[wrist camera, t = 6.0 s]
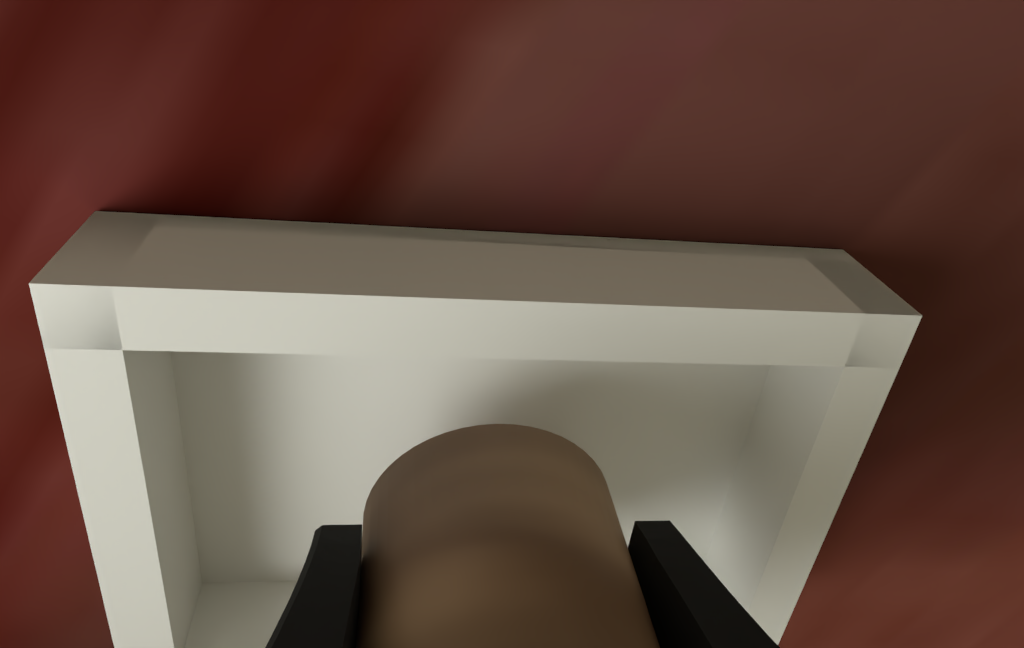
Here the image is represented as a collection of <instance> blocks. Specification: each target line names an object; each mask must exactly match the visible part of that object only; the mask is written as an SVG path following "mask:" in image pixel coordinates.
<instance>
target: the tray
mask: <svg viewBox="0 0 1024 648" xmlns="http://www.w3.org/2000/svg"><path fill="white" fill-rule="evenodd" d="M29 286H30V291H31V295H32V299H33V303H34V308H35V312H36V316H37V320H38V325H39V329H40V333H41V337H42V342H43V346H44V350H45V354H46V359H47V363H48V367H49V372H50V376H51V380H52V384H53V389H54V393H55V397H56V401H57V406H58V410H59V414H60V418H61V423H62V427H63V431H64V435H65V440H66V444H67V448H68V453H69V457H70V461H71V465H72V470H73V474H74V478H75V482H76V487H77V491H78V495H79V499H80V504H81V508H82V512H83V516H84V521H85V525H86V529H87V533H88V538H89V542H90V546H91V551H92V555H93V559H94V563H95V568H96V572H97V576H98V580H99V585H100V589H101V593H102V597H103V602H104V606H105V610H106V614H107V619H108V623H109V627H110V632H111V636H112V640H113V644H114V648H265V647H266V645H267V643H268V641H269V639H270V637H271V635H272V633H273V631H274V629H275V627H276V625H277V623H278V621H279V619H280V617H281V615H282V613H283V611H284V609H285V607H286V605H287V603H288V601H289V599H290V597H291V594H292V592H293V590H294V588H295V585H296V583H297V581H298V578H299V576H300V574H301V571H302V569H303V566H304V564H305V561H306V558H307V555H308V552H309V550H310V547H311V544H312V540H313V536H314V533H315V530H316V529H318V528H319V527H320V526H322V525H357V524H362V530H363V513H364V509H365V505H366V501H367V498H368V496H369V494H370V491H371V489H372V488H373V486H374V484H375V483H376V481H377V480H378V478H379V477H380V476H381V475H382V473H383V472H384V471H385V470H386V469H387V468H388V466H390V465H391V464H392V463H393V462H394V461H395V460H396V459H398V458H399V457H400V456H401V455H403V454H404V453H406V452H407V451H409V450H410V449H411V448H413V447H415V446H417V445H418V444H420V443H422V442H424V441H426V440H428V439H430V438H433V437H435V436H438V435H440V434H443V433H446V432H449V431H453V430H456V429H460V428H465V427H471V426H476V425H486V424H516V425H523V426H530V427H534V428H538V429H542V430H546V431H549V432H552V433H554V434H557V435H559V436H562V437H563V438H565V439H567V440H569V441H571V442H573V443H574V444H576V445H577V446H578V447H580V448H581V449H582V450H584V451H585V452H586V453H587V454H588V455H589V456H590V457H591V458H592V459H593V460H594V461H595V463H596V464H597V465H598V467H599V468H600V470H601V471H602V473H603V476H604V478H605V480H606V482H607V485H608V488H609V492H610V495H611V498H612V501H613V504H614V507H615V510H616V513H617V516H618V519H619V522H620V525H621V529H622V532H623V535H624V538H625V541H626V544H627V547H628V545H629V542H630V538H631V534H632V530H633V526H634V522H635V521H668V520H670V521H671V523H672V524H673V525H674V526H675V527H676V528H677V529H678V531H679V532H680V533H681V534H682V535H683V537H684V538H685V539H686V540H687V541H688V543H689V544H690V545H691V546H692V548H693V549H694V550H695V551H696V552H697V554H698V555H699V556H700V557H701V558H702V560H703V561H704V562H705V563H706V564H707V566H708V567H709V568H710V569H711V570H712V572H713V573H714V574H715V575H716V576H717V578H718V579H719V580H720V581H721V582H722V583H723V585H724V586H725V587H726V588H727V589H728V591H729V592H730V593H731V594H732V595H733V596H734V597H735V599H736V600H737V601H738V602H739V603H740V604H741V605H742V607H743V608H744V609H745V610H746V611H747V612H748V613H749V614H750V616H751V617H752V618H753V619H754V620H755V621H756V622H757V623H758V624H759V626H760V627H761V628H762V629H763V630H764V631H765V632H766V633H767V635H768V636H769V637H770V638H771V639H772V640H773V641H774V642H775V643H776V644H777V645H778V644H779V642H780V639H781V637H782V635H783V633H784V630H785V628H786V626H787V623H788V621H789V619H790V617H791V614H792V612H793V610H794V607H795V605H796V603H797V601H798V598H799V596H800V594H801V591H802V589H803V587H804V585H805V582H806V580H807V578H808V576H809V573H810V571H811V569H812V566H813V564H814V562H815V560H816V557H817V555H818V553H819V550H820V548H821V546H822V544H823V541H824V539H825V537H826V534H827V532H828V530H829V528H830V525H831V523H832V521H833V519H834V516H835V514H836V512H837V509H838V507H839V505H840V503H841V500H842V498H843V496H844V493H845V491H846V489H847V487H848V484H849V482H850V480H851V477H852V475H853V473H854V471H855V468H856V466H857V464H858V462H859V459H860V457H861V455H862V452H863V450H864V448H865V446H866V443H867V441H868V439H869V436H870V434H871V432H872V430H873V427H874V425H875V423H876V420H877V418H878V416H879V414H880V411H881V409H882V407H883V405H884V402H885V400H886V398H887V395H888V393H889V391H890V389H891V386H892V384H893V382H894V379H895V377H896V375H897V373H898V370H899V368H900V366H901V364H902V361H903V359H904V357H905V354H906V352H907V350H908V348H909V345H910V343H911V341H912V338H913V336H914V334H915V332H916V329H917V327H918V325H919V322H920V320H921V318H922V315H921V314H920V313H919V312H917V311H916V310H915V309H914V308H913V307H911V306H910V305H909V304H908V303H907V302H905V301H904V300H903V299H902V298H901V297H899V296H898V295H897V294H896V293H895V292H893V291H892V290H891V289H890V288H889V287H887V286H886V285H885V284H884V283H883V282H881V281H880V280H879V279H878V278H877V277H875V276H874V275H873V274H872V273H871V272H869V271H868V270H867V269H866V268H865V267H863V266H862V265H861V264H860V263H859V262H857V261H856V260H855V259H854V258H853V257H851V256H850V255H849V254H848V253H847V252H845V251H844V250H843V249H823V248H804V247H785V246H765V245H746V244H726V243H707V242H688V241H668V240H649V239H629V238H610V237H591V236H571V235H552V234H532V233H513V232H494V231H474V230H455V229H435V228H416V227H397V226H377V225H358V224H338V223H319V222H299V221H280V220H261V219H241V218H222V217H202V216H183V215H164V214H144V213H125V212H105V211H95V212H94V213H93V214H92V215H91V216H90V217H89V218H88V219H87V221H86V222H85V223H84V224H83V225H82V226H81V227H80V228H79V229H78V230H77V231H76V233H75V234H74V235H73V236H72V237H71V238H70V239H69V240H68V241H67V242H66V243H65V245H64V246H63V247H62V248H61V249H60V250H59V251H58V252H57V253H56V254H55V255H54V257H53V258H52V259H51V260H50V261H49V262H48V263H47V264H46V265H45V266H44V267H43V268H42V270H41V271H40V272H39V273H38V274H37V275H36V276H35V277H34V278H33V279H32V280H31V282H30V283H29Z"/></svg>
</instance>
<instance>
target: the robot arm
mask: <svg viewBox="0 0 1024 648" xmlns="http://www.w3.org/2000/svg"><path fill="white" fill-rule="evenodd" d="M628 550H629V553H630V556H631V559H632V562H633V565H634V569H635V572H636V575H637V578H638V581H639V584H640V587H641V590H642V593H643V596H644V599H645V602H646V606H647V609H648V612H649V615H650V618H651V621H652V624H653V627H654V630H655V633H656V636H657V639H658V643H659V646H660V648H780V647H779V646H778V645H777V644H776V643H775V642H774V641H773V640H772V639H771V638H770V637H769V636H768V635H767V633H766V632H765V631H764V630H763V629H762V628H761V627H760V626H759V624H758V623H757V622H756V621H755V620H754V619H753V618H752V617H751V616H750V614H749V613H748V612H747V611H746V610H745V609H744V608H743V607H742V605H741V604H740V603H739V602H738V601H737V600H736V599H735V597H734V596H733V595H732V594H731V593H730V592H729V591H728V589H727V588H726V587H725V586H724V585H723V583H722V582H721V581H720V580H719V579H718V578H717V576H716V575H715V574H714V573H713V572H712V570H711V569H710V568H709V567H708V566H707V564H706V563H705V562H704V561H703V560H702V558H701V557H700V556H699V555H698V554H697V552H696V551H695V550H694V549H693V548H692V546H691V545H690V544H689V543H688V541H687V540H686V539H685V538H684V537H683V535H682V534H681V533H680V532H679V531H678V529H677V528H676V527H675V526H674V525H673V524H672V523H671V521H670V520H668V521H635V522H634V526H633V530H632V534H631V538H630V542H629V545H628ZM361 563H362V524H357V525H322V526H320V527H319V528H318V529H316V530H315V533H314V536H313V540H312V544H311V547H310V550H309V552H308V555H307V558H306V561H305V564H304V566H303V569H302V571H301V574H300V576H299V578H298V581H297V583H296V585H295V588H294V590H293V592H292V594H291V597H290V599H289V601H288V603H287V605H286V607H285V609H284V611H283V613H282V615H281V617H280V619H279V621H278V623H277V625H276V627H275V629H274V631H273V633H272V635H271V637H270V639H269V641H268V643H267V645H266V647H265V648H356V635H357V625H358V617H359V599H360V581H361Z"/></svg>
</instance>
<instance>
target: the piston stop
mask: <svg viewBox="0 0 1024 648" xmlns="http://www.w3.org/2000/svg"><path fill="white" fill-rule="evenodd" d="M356 648H660V646H659V643H658V639H657V636H656V633H655V630H654V627H653V624H652V621H651V618H650V615H649V612H648V609H647V606H646V602H645V599H644V596H643V593H642V590H641V587H640V584H639V581H638V578H637V575H636V572H635V569H634V565H633V562H632V559H631V556H630V553H629V550H628V547H627V544H626V541H625V538H624V535H623V532H622V529H621V525H620V522H619V519H618V516H617V513H616V510H615V507H614V504H613V501H612V498H611V495H610V492H609V488H608V485H607V482H606V480H605V478H604V476H603V473H602V471H601V470H600V468H599V467H598V465H597V464H596V463H595V461H594V460H593V459H592V458H591V457H590V456H589V455H588V454H587V453H586V452H585V451H584V450H582V449H581V448H580V447H578V446H577V445H576V444H574V443H573V442H571V441H569V440H567V439H565V438H563V437H562V436H559V435H557V434H554V433H552V432H549V431H546V430H542V429H538V428H534V427H530V426H523V425H516V424H486V425H476V426H471V427H465V428H460V429H456V430H453V431H449V432H446V433H443V434H440V435H438V436H435V437H433V438H430V439H428V440H426V441H424V442H422V443H420V444H418V445H417V446H415V447H413V448H411V449H410V450H409V451H407V452H406V453H404V454H403V455H401V456H400V457H399V458H398V459H396V460H395V461H394V462H393V463H392V464H391V465H390V466H388V468H387V469H386V470H385V471H384V472H383V473H382V475H381V476H380V477H379V478H378V480H377V481H376V483H375V484H374V486H373V488H372V489H371V491H370V494H369V496H368V498H367V501H366V505H365V509H364V513H363V530H362V563H361V581H360V599H359V617H358V625H357V635H356Z"/></svg>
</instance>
